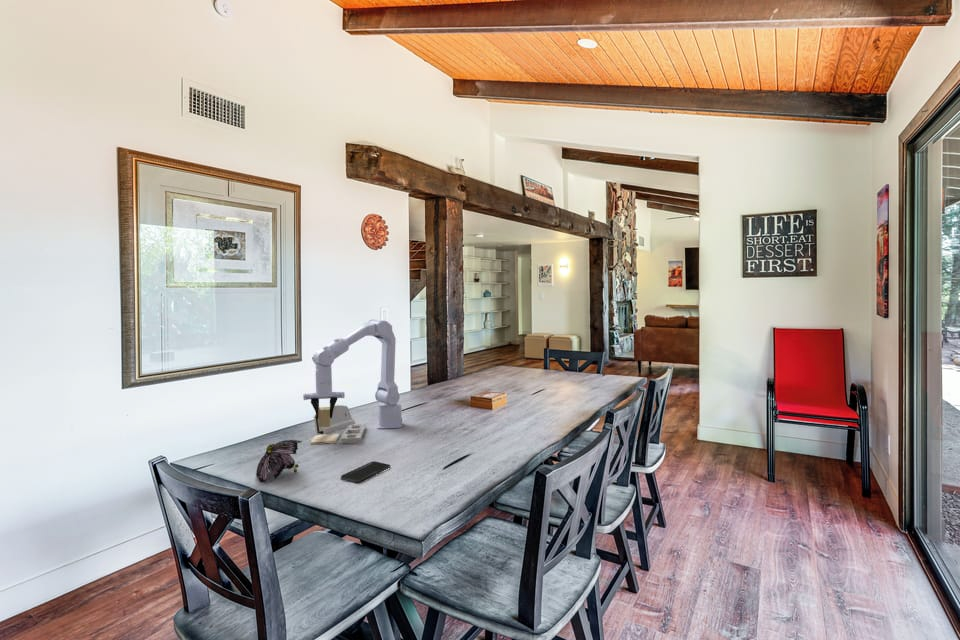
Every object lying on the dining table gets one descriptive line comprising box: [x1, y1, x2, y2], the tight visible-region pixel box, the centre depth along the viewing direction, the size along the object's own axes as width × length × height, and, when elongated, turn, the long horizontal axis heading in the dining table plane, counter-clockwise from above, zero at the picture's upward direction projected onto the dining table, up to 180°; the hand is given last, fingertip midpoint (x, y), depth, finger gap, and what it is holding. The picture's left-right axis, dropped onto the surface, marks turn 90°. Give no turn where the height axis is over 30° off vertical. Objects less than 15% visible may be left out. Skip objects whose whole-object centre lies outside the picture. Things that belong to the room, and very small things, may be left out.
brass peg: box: [318, 406, 331, 427], centre depth 185 cm, size 4×4×6 cm
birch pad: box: [310, 433, 341, 445], centre depth 186 cm, size 9×9×1 cm
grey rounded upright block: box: [313, 404, 356, 434], centre depth 202 cm, size 17×5×10 cm, turn 147°
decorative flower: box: [255, 439, 303, 483], centre depth 152 cm, size 15×12×15 cm
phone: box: [340, 461, 391, 484], centre depth 153 cm, size 8×1×15 cm
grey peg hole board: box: [340, 423, 367, 444], centre depth 191 cm, size 7×18×2 cm, turn 6°
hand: (324, 417), depth 185 cm, fingers closed on brass peg, 4 cm apart
